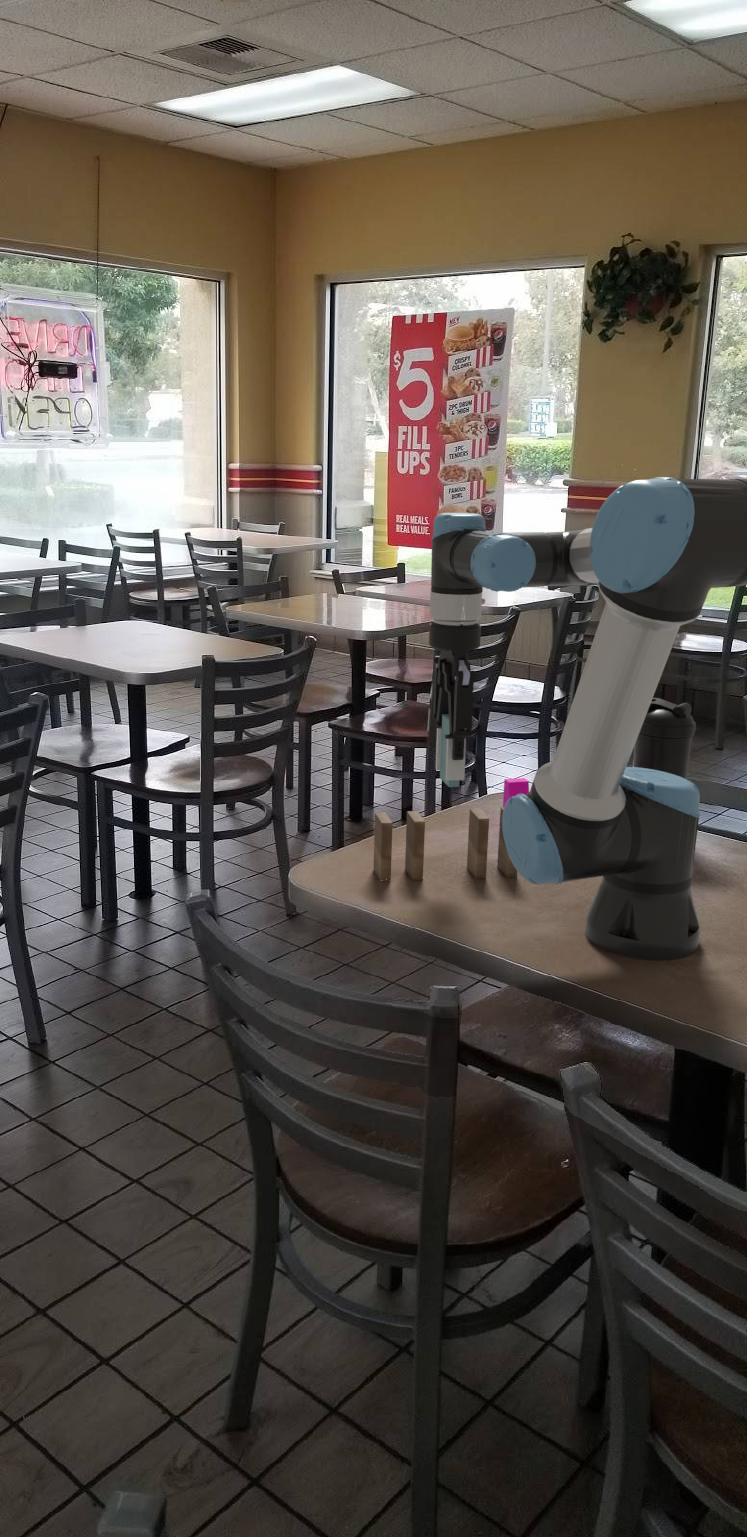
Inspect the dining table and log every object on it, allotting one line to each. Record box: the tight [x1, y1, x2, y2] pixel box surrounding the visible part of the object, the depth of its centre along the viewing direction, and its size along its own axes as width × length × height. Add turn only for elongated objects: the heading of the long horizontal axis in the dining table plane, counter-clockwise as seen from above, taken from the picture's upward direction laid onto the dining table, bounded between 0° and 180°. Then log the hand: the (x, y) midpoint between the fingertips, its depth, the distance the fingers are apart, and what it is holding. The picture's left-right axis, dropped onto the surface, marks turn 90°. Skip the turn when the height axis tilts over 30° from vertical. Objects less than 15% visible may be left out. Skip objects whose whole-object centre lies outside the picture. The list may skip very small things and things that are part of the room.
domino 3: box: [439, 714, 460, 788], centre depth 181 cm, size 2×5×10 cm, turn 12°
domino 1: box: [373, 811, 393, 881], centre depth 183 cm, size 2×5×10 cm, turn 12°
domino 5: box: [496, 806, 518, 878], centre depth 187 cm, size 2×5×10 cm, turn 12°
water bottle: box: [632, 697, 697, 779], centre depth 206 cm, size 10×10×23 cm
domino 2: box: [404, 810, 426, 881], centre depth 184 cm, size 2×5×10 cm, turn 12°
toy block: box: [502, 777, 530, 807], centre depth 207 cm, size 15×6×8 cm, turn 15°
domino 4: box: [466, 807, 490, 879], centre depth 186 cm, size 2×5×10 cm, turn 12°
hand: (449, 774), depth 182 cm, fingers closed on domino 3, 5 cm apart
